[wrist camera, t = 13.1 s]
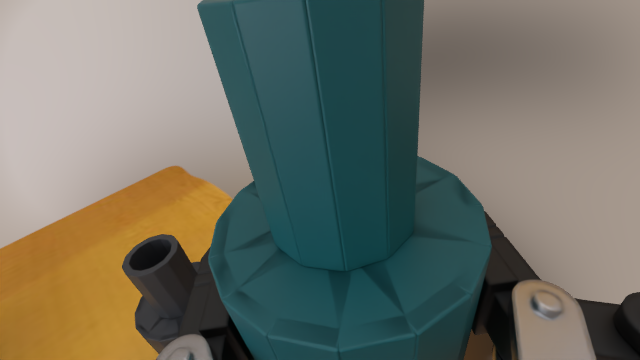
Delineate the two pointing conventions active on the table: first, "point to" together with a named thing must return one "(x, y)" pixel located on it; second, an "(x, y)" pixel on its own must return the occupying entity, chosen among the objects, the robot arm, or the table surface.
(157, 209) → the table surface
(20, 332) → the table surface
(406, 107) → the teal bottle
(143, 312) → the charcoal bottle
